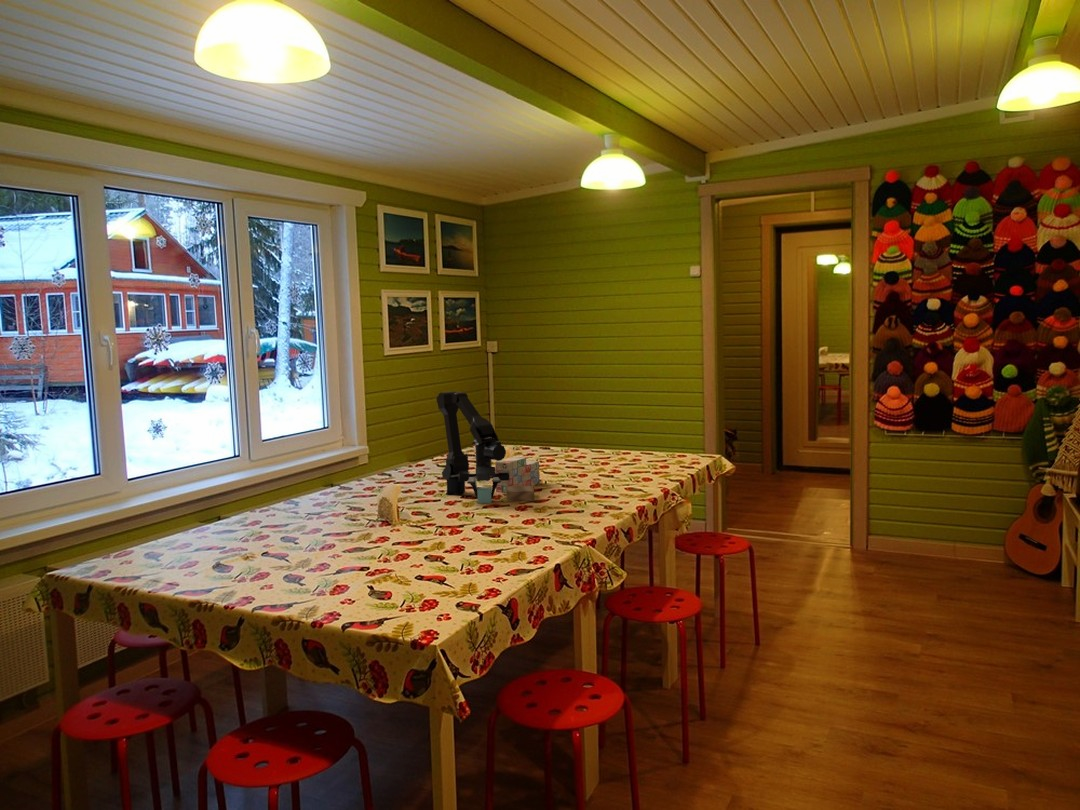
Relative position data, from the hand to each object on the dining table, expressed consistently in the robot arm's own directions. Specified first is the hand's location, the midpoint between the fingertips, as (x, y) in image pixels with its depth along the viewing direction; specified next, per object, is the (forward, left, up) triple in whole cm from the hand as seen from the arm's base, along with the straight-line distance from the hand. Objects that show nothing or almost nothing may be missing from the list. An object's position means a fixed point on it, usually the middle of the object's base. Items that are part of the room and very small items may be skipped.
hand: (484, 498), depth 299 cm
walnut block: (+13, +4, -1) cm, 14 cm away
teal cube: (0, 0, -1) cm, 1 cm away
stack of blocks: (+12, +23, -1) cm, 26 cm away
